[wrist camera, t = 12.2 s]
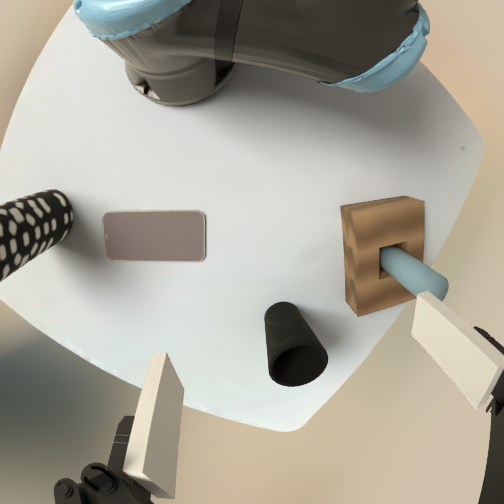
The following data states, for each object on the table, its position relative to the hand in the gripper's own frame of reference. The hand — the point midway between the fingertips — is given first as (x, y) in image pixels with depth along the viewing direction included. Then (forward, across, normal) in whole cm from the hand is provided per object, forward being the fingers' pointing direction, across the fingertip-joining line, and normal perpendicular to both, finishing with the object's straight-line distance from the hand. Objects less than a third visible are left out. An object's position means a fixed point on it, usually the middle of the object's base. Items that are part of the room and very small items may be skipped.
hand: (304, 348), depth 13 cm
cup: (+27, +2, -16) cm, 31 cm away
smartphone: (+27, -14, +1) cm, 31 cm away
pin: (+25, +19, -8) cm, 33 cm away
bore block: (+27, +19, -8) cm, 34 cm away
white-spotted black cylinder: (+27, -30, +8) cm, 41 cm away
